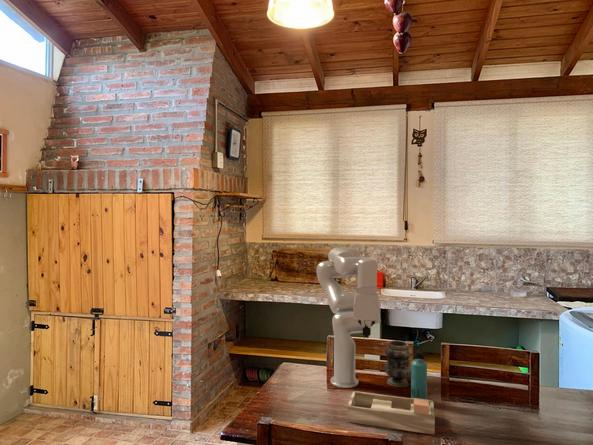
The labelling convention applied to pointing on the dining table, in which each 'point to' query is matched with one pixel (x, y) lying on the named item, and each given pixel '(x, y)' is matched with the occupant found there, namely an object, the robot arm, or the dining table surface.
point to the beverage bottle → (419, 376)
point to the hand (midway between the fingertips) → (366, 336)
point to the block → (421, 406)
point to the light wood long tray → (389, 412)
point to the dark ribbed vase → (398, 363)
